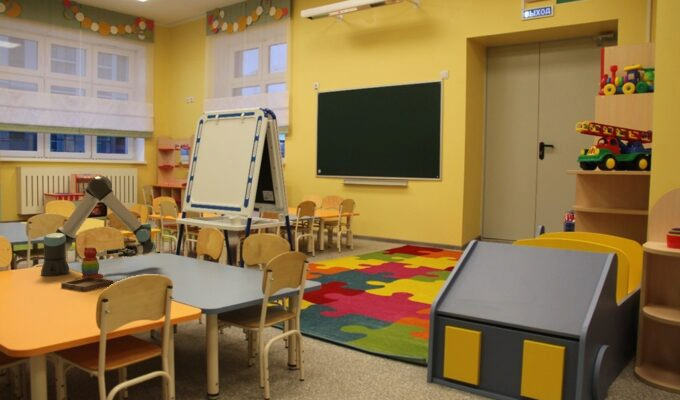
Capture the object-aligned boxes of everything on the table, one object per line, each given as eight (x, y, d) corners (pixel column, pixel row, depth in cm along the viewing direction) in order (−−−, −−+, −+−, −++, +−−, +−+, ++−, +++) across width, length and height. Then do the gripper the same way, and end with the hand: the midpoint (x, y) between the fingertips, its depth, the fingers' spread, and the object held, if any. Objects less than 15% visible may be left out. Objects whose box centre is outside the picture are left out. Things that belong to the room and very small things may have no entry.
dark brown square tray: (61, 287, 292) (61, 283, 292) (90, 281, 308) (90, 276, 308) (84, 291, 284) (84, 286, 284) (113, 284, 300) (113, 280, 300)
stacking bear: (104, 276, 321) (104, 246, 320) (95, 280, 311) (94, 249, 310) (86, 276, 322) (86, 245, 321) (76, 279, 312) (76, 248, 311)
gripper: (148, 257, 338) (120, 263, 319) (119, 254, 349) (90, 259, 331) (148, 245, 338) (120, 250, 319) (119, 242, 349) (90, 247, 330)
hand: (105, 255), depth 325 cm, fingers open, 13 cm apart
